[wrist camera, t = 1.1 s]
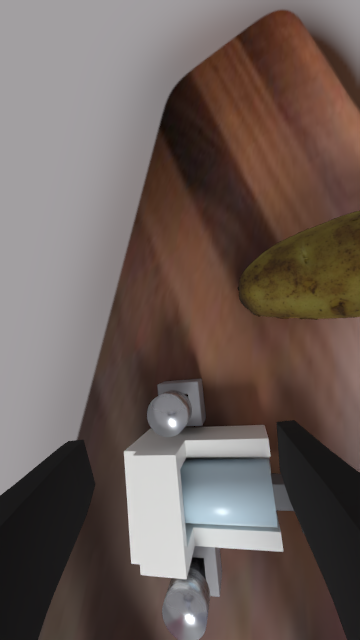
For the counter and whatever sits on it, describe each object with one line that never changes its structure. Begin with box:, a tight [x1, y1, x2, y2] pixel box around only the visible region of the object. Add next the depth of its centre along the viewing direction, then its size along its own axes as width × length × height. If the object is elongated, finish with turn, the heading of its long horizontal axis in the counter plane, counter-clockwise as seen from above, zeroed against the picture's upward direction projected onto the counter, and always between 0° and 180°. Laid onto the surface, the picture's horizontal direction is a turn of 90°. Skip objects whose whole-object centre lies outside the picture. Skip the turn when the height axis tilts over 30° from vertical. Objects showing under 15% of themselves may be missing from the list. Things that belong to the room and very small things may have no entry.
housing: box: [124, 379, 283, 597], centre depth 19 cm, size 15×10×6 cm, turn 6°
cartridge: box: [180, 459, 304, 533], centre depth 19 cm, size 4×12×5 cm, turn 96°
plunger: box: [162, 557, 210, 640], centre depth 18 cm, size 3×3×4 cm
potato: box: [238, 211, 360, 320], centre depth 18 cm, size 8×13×8 cm, turn 80°
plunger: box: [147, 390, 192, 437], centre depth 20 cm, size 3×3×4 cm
